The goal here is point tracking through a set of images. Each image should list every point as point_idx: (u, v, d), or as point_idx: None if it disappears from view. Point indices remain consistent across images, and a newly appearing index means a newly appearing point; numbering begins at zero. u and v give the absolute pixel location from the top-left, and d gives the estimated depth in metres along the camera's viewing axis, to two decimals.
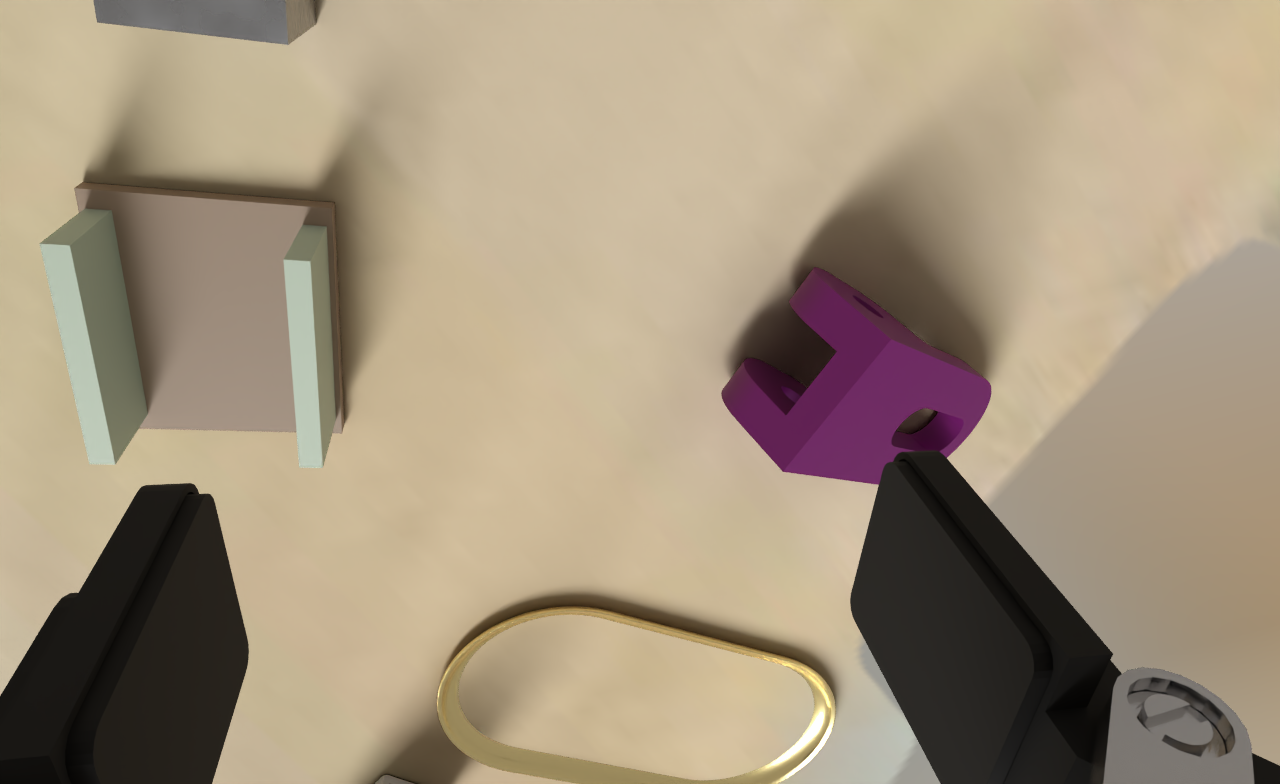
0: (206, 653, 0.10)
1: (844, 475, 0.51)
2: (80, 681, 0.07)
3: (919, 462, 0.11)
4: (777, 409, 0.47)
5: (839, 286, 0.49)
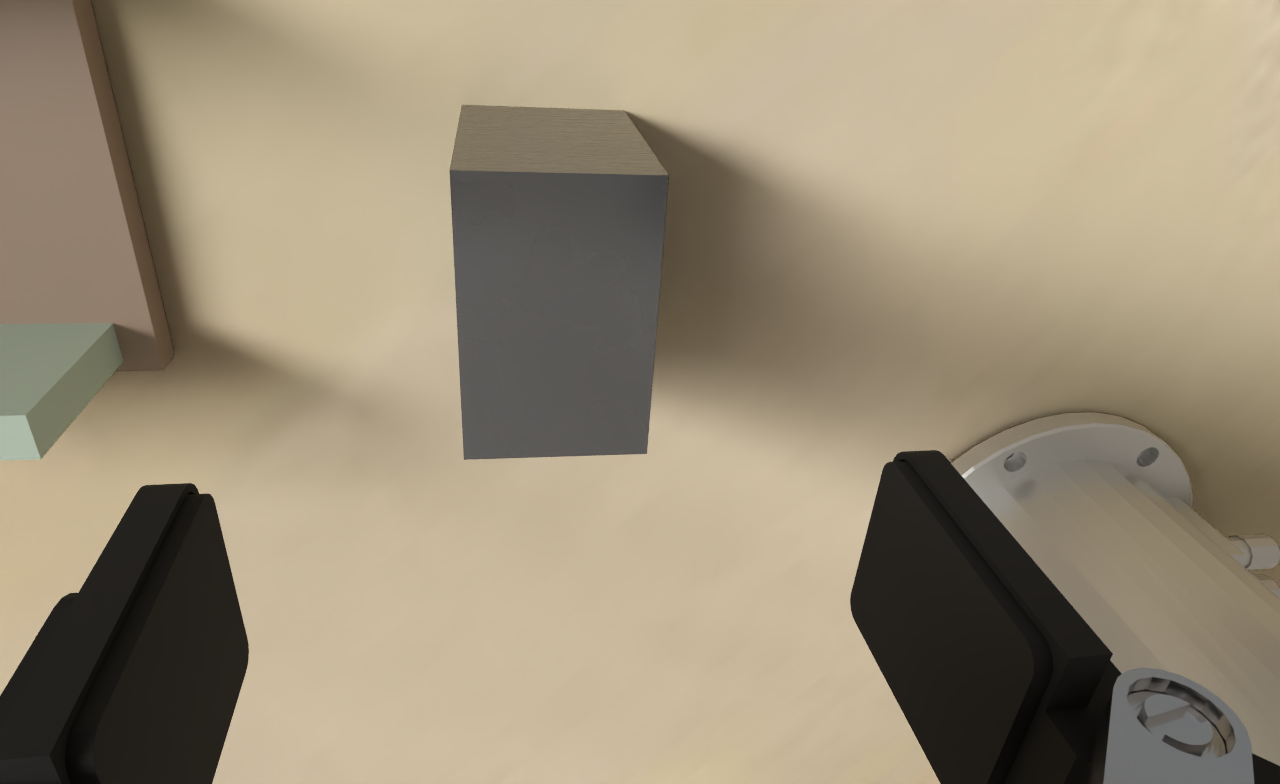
0: (206, 653, 0.10)
1: None
2: (80, 681, 0.07)
3: (919, 462, 0.11)
4: None
5: None
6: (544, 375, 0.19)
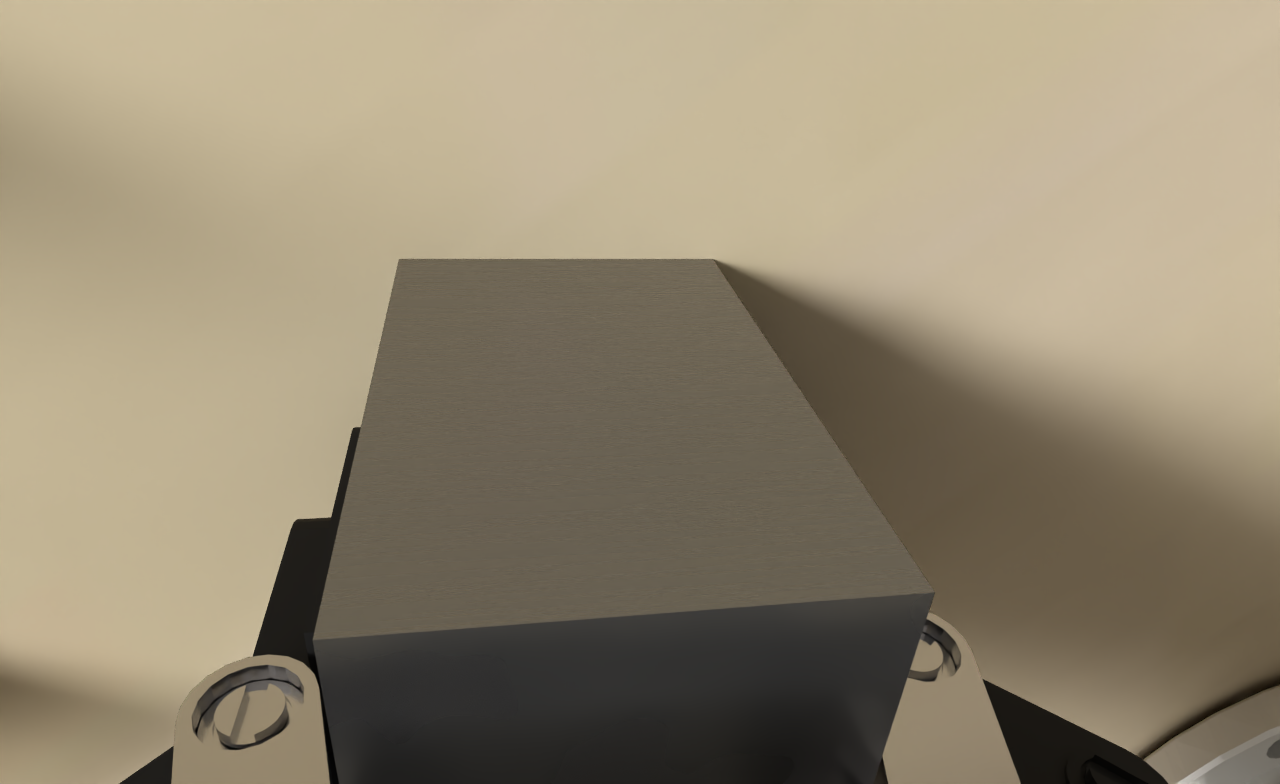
0: None
1: None
2: None
3: None
4: None
5: None
6: None
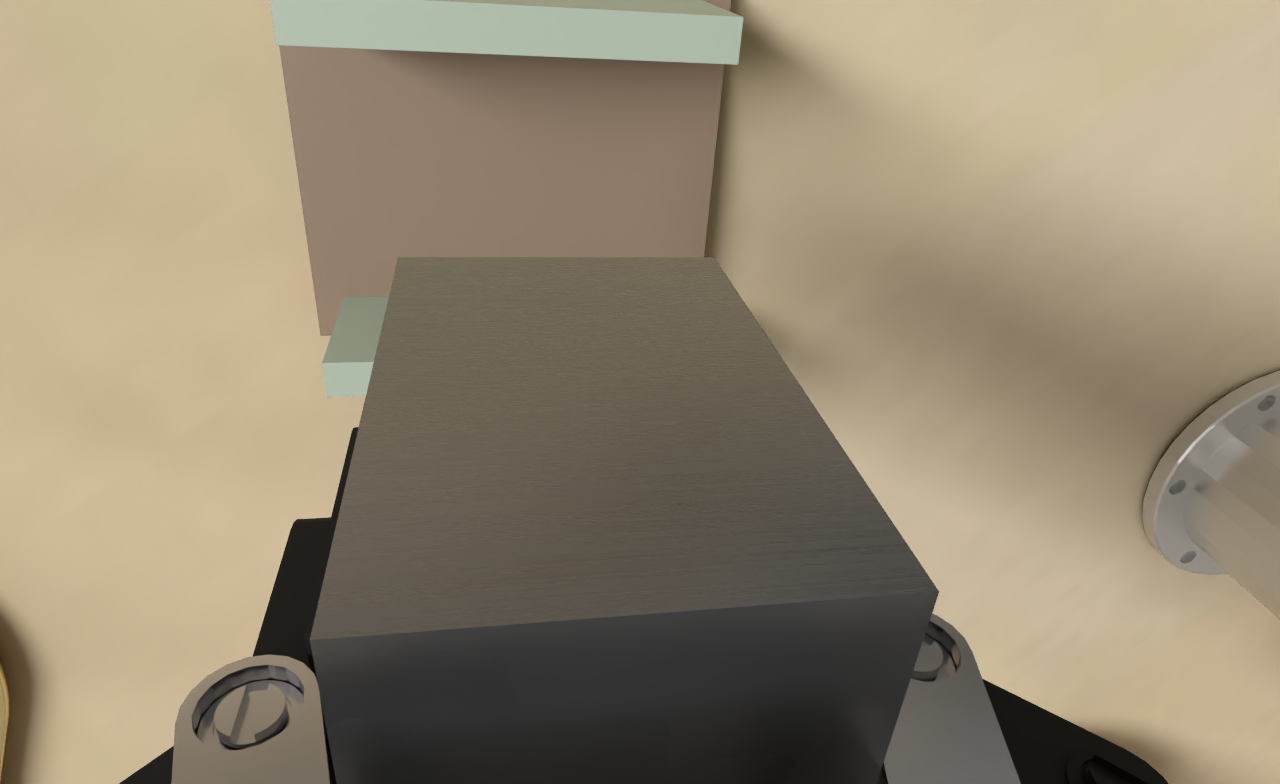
0: None
1: None
2: None
3: None
4: None
5: None
6: None
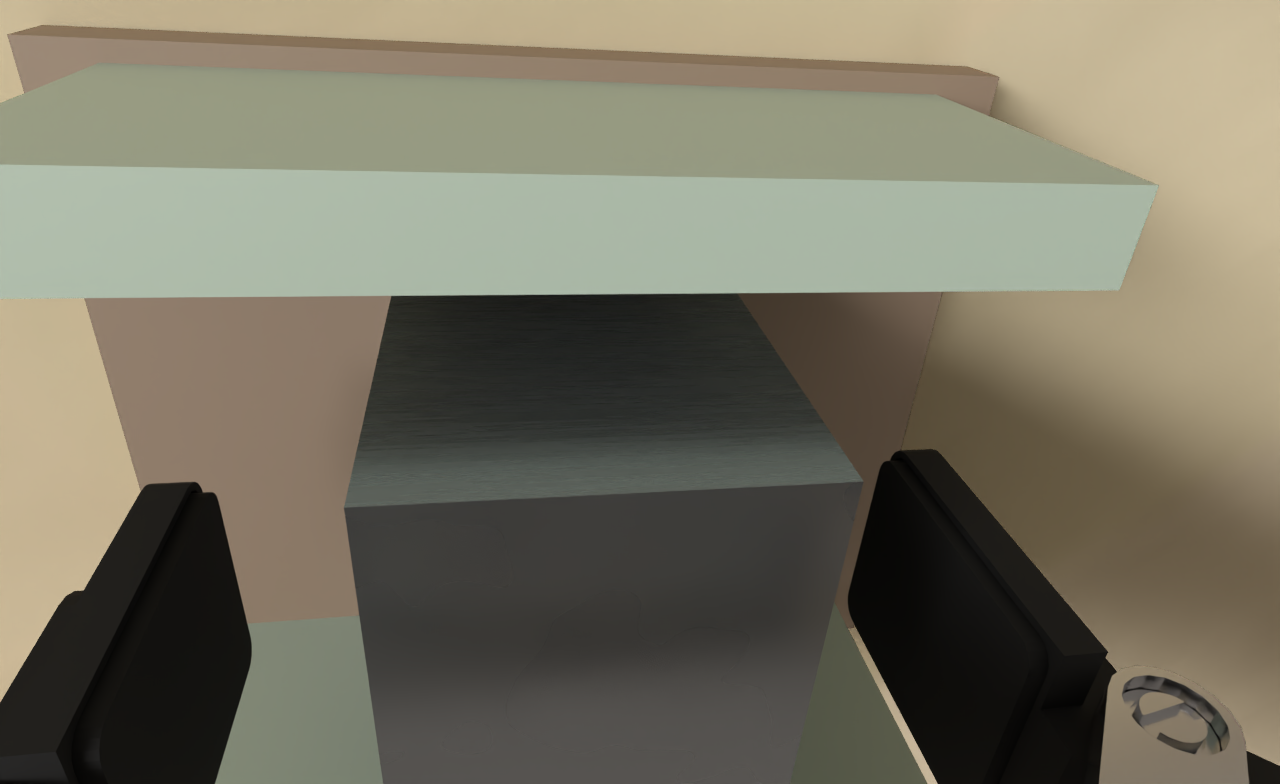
0: (210, 651, 0.10)
1: None
2: (85, 678, 0.07)
3: (916, 461, 0.11)
4: None
5: None
6: None
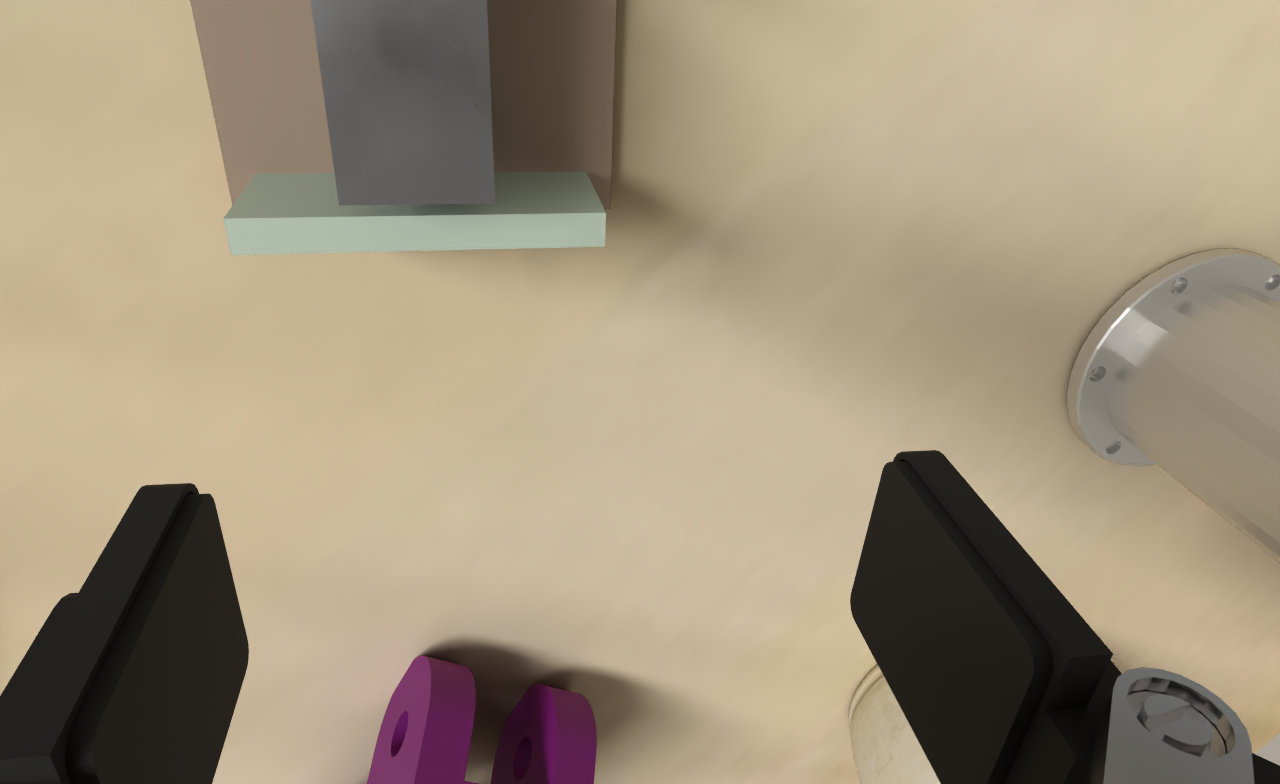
0: (206, 653, 0.10)
1: None
2: (80, 681, 0.07)
3: (919, 462, 0.11)
4: (464, 765, 0.39)
5: None
6: (399, 126, 0.23)
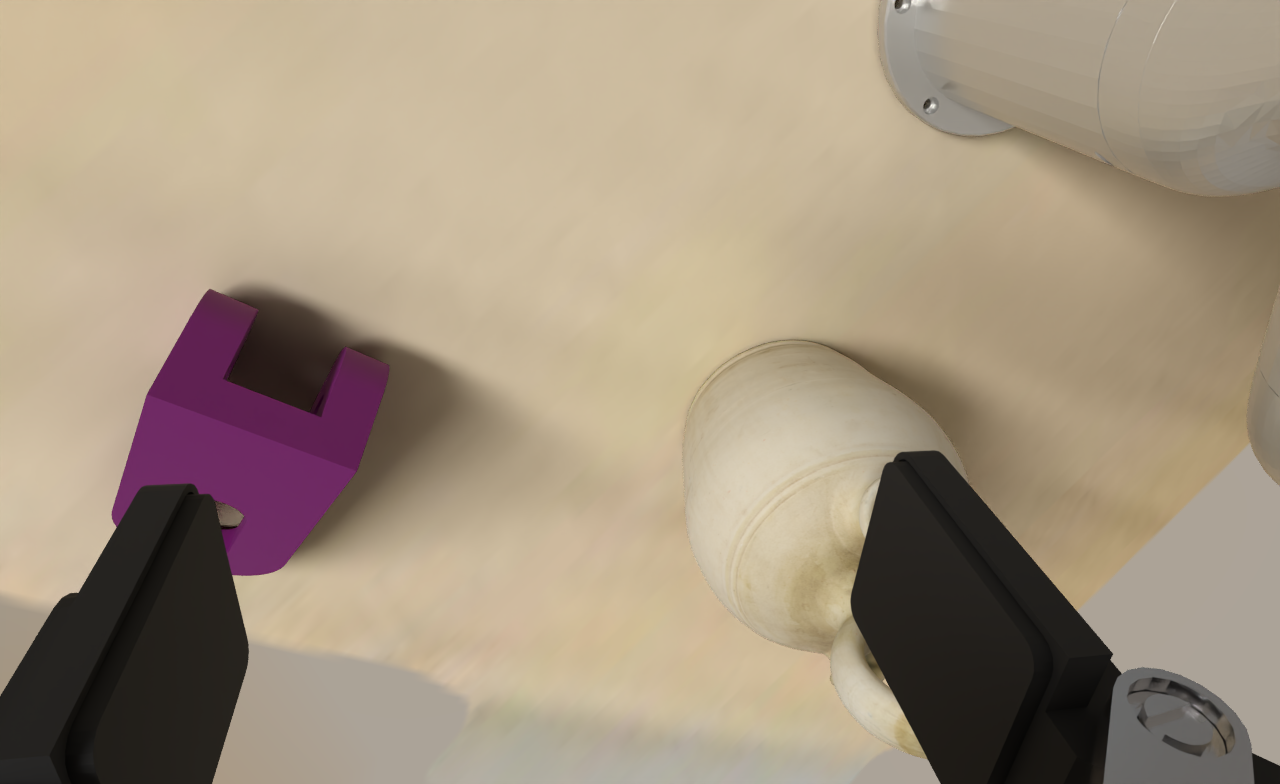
0: (206, 653, 0.10)
1: (135, 461, 0.40)
2: (80, 681, 0.07)
3: (919, 462, 0.11)
4: (226, 367, 0.38)
5: None
6: None
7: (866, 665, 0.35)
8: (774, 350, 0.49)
